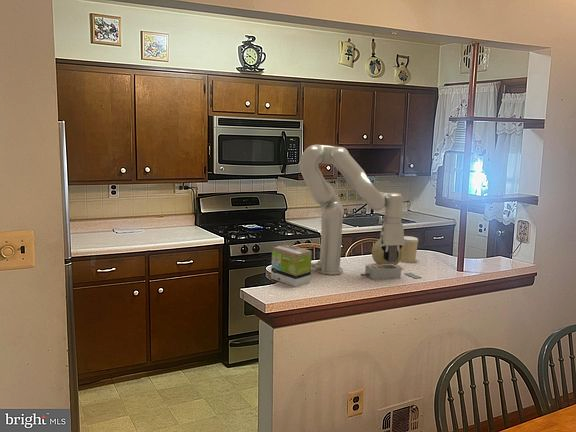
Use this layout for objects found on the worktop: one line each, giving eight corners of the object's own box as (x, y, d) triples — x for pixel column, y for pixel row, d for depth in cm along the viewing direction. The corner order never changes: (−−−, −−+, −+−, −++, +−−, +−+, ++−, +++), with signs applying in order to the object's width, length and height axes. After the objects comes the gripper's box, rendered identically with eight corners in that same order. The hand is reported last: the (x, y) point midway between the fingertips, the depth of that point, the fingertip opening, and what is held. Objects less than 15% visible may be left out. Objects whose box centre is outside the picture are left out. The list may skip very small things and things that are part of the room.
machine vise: (364, 280, 241) (365, 269, 240) (357, 275, 248) (357, 264, 247) (400, 278, 246) (401, 267, 245) (392, 273, 254) (392, 262, 253)
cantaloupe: (364, 265, 266) (366, 235, 264) (385, 261, 275) (387, 232, 272) (386, 272, 255) (389, 241, 252) (407, 268, 263) (409, 238, 261)
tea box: (270, 279, 236) (271, 246, 234) (285, 275, 244) (287, 243, 241) (295, 287, 226) (297, 253, 224) (311, 283, 234) (312, 249, 231)
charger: (388, 262, 245) (389, 247, 244) (384, 260, 249) (385, 245, 248) (396, 261, 246) (397, 246, 245) (392, 259, 250) (393, 244, 249)
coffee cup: (419, 260, 280) (421, 237, 278) (413, 264, 272) (414, 240, 270) (401, 257, 285) (403, 235, 283) (395, 260, 277) (397, 238, 275)
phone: (414, 280, 246) (414, 278, 246) (403, 275, 253) (403, 273, 253) (421, 279, 248) (421, 277, 248) (410, 274, 255) (410, 272, 255)
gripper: (379, 222, 238) (377, 262, 241) (413, 221, 243) (411, 260, 246) (372, 219, 245) (370, 258, 248) (405, 218, 250) (402, 256, 253)
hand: (390, 259), depth 247 cm, fingers closed on charger, 4 cm apart
